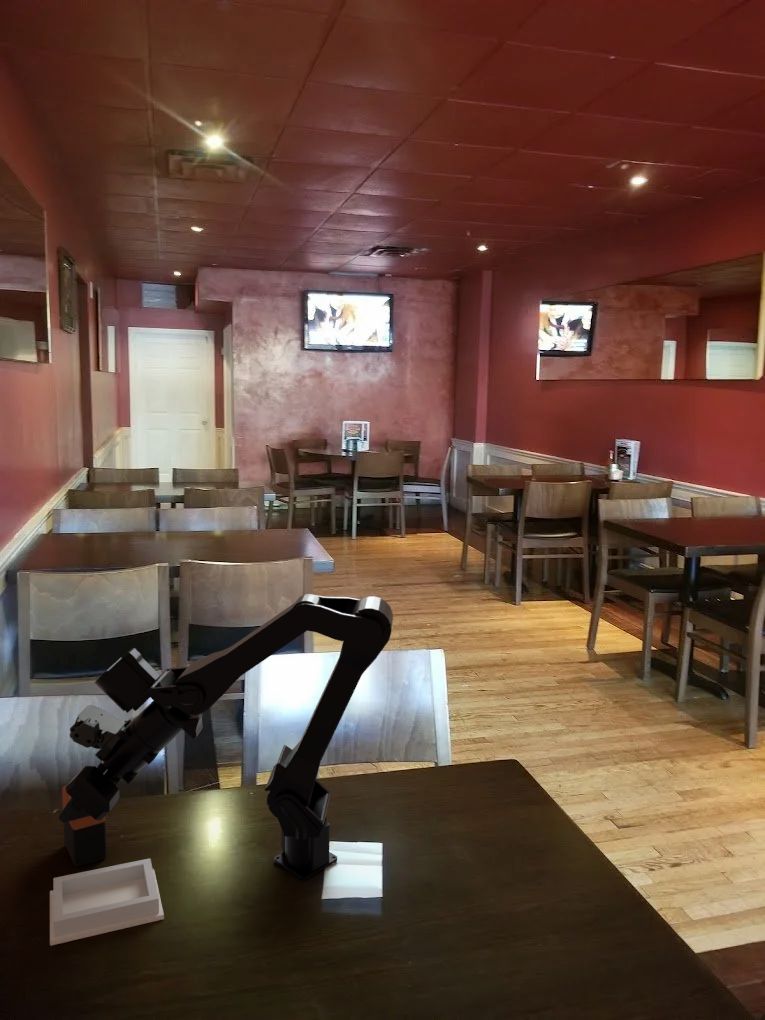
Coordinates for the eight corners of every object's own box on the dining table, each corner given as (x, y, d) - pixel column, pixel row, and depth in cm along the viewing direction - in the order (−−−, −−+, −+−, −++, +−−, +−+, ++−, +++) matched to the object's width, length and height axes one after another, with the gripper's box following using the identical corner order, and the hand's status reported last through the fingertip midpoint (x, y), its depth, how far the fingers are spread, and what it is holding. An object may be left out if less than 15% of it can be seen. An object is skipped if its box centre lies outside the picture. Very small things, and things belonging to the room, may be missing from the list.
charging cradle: (154, 873, 107) (153, 855, 106) (163, 919, 98) (163, 899, 97) (50, 895, 102) (49, 876, 101) (50, 945, 93) (49, 925, 92)
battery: (95, 835, 115) (92, 771, 114) (108, 859, 110) (105, 792, 108) (63, 845, 113) (60, 779, 111) (75, 869, 107) (72, 800, 106)
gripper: (131, 667, 117) (61, 735, 119) (78, 720, 98) (-4, 799, 100) (185, 720, 118) (114, 786, 120) (142, 781, 99) (59, 858, 101)
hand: (73, 804), depth 110 cm, fingers closed on battery, 8 cm apart
